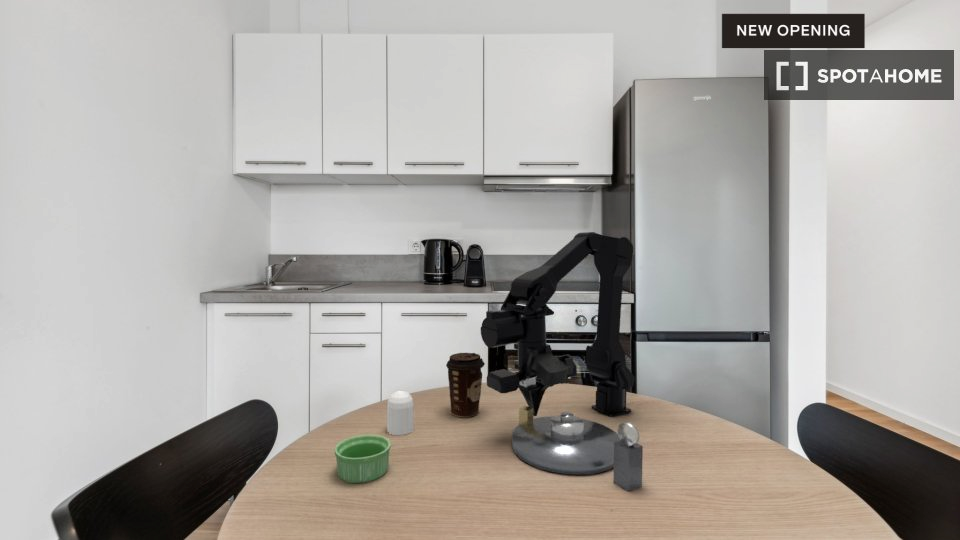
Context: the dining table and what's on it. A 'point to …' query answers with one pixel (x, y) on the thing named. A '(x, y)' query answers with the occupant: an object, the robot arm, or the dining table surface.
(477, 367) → the coffee cup
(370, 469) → the ramekin
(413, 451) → the dining table surface
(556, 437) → the cover
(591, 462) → the turntable
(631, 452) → the indicator stand
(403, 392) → the salt shaker
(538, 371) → the robot arm
